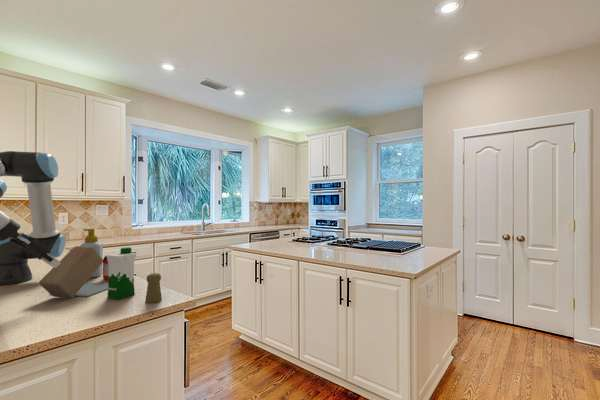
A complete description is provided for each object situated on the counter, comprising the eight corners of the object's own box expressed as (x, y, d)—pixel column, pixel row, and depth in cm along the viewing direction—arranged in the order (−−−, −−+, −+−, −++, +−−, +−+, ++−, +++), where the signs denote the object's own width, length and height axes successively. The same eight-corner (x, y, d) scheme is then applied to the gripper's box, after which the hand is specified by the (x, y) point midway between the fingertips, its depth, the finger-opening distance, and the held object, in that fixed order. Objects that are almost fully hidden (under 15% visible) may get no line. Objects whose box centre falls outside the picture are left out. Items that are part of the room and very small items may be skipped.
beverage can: (120, 277, 153) (120, 254, 153) (111, 280, 147) (111, 256, 147) (109, 277, 153) (109, 254, 153) (99, 280, 147) (100, 256, 147)
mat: (86, 283, 142) (86, 282, 142) (119, 284, 139) (119, 283, 139) (50, 294, 124) (50, 293, 124) (87, 297, 121) (87, 295, 121)
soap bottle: (83, 274, 157) (83, 228, 157) (102, 273, 161) (103, 227, 161) (78, 279, 149) (78, 230, 149) (99, 277, 153) (99, 229, 153)
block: (56, 284, 113) (93, 246, 128) (36, 283, 115) (74, 245, 130) (72, 299, 119) (105, 260, 134) (52, 297, 121) (87, 259, 136)
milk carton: (138, 294, 125) (138, 248, 125) (118, 301, 117) (119, 251, 117) (123, 292, 128) (123, 246, 128) (103, 298, 120) (103, 250, 120)
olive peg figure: (145, 304, 113) (145, 276, 113) (145, 299, 119) (145, 272, 119) (162, 302, 116) (162, 274, 116) (161, 297, 121) (161, 271, 121)
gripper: (-17, 233, 103) (42, 271, 117) (-5, 235, 96) (56, 275, 111) (4, 217, 108) (58, 255, 122) (17, 219, 101) (73, 259, 115)
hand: (57, 265), depth 116 cm, fingers closed
